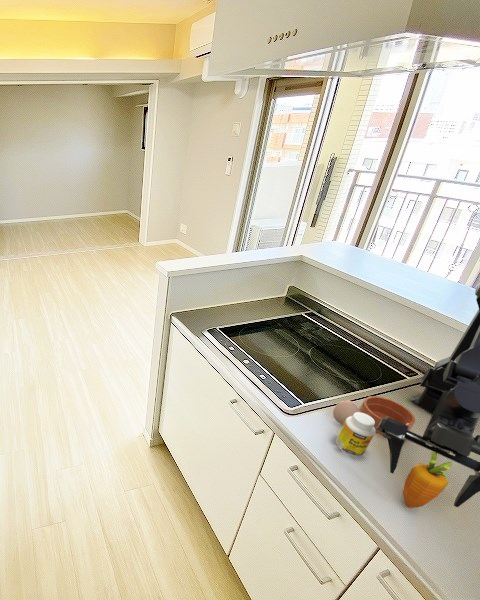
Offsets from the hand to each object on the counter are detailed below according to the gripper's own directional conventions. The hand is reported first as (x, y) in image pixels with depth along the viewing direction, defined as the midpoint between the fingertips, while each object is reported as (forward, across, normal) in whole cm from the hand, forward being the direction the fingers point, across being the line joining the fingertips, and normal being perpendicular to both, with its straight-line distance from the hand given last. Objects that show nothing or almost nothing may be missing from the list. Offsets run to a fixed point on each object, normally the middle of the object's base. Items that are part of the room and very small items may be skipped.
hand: (422, 489), depth 64 cm
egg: (-7, -15, +17) cm, 24 cm away
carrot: (+4, 0, +6) cm, 7 cm away
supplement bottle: (-1, -12, +12) cm, 17 cm away
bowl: (-12, -8, +22) cm, 26 cm away
